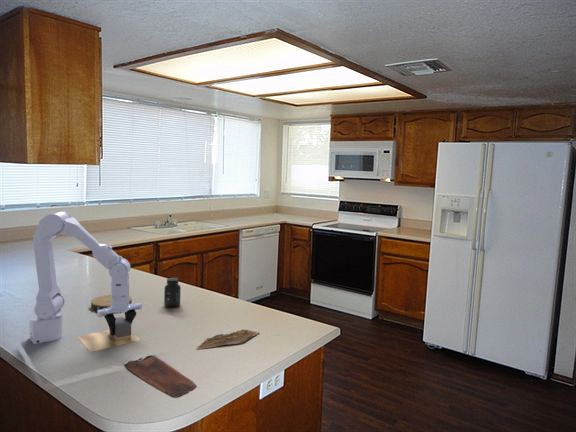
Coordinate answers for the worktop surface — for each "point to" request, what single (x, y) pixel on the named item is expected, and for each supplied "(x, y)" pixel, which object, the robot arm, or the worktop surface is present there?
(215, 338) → the wooden fragment
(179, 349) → the worktop surface
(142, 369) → the wooden tablet
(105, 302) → the wood log slice
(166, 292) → the supplement bottle
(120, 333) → the block
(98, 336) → the oak board
